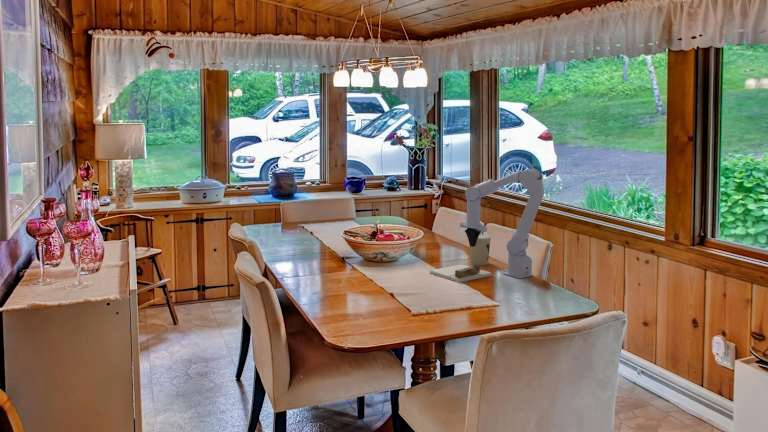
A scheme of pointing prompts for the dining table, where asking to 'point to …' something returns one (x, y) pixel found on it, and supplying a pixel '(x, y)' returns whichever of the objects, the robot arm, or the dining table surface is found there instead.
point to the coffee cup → (480, 251)
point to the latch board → (450, 274)
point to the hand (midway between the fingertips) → (472, 246)
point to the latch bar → (467, 271)
